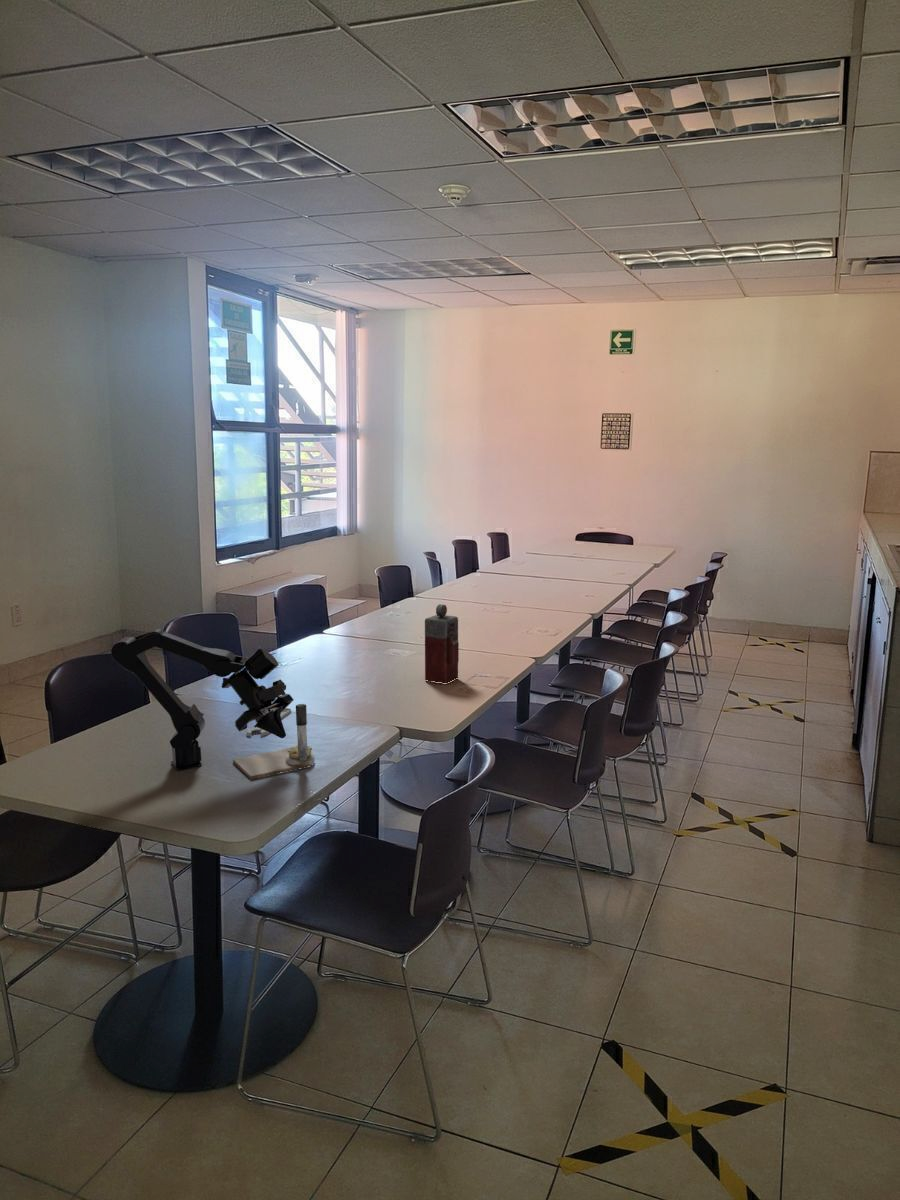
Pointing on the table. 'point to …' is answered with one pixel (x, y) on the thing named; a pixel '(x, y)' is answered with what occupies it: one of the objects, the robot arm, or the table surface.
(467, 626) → the table surface
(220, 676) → the robot arm
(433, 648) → the knobbed red-grey post
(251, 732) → the adjustable wrench
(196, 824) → the table surface
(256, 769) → the brown wooden board
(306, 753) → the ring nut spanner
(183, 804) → the table surface
